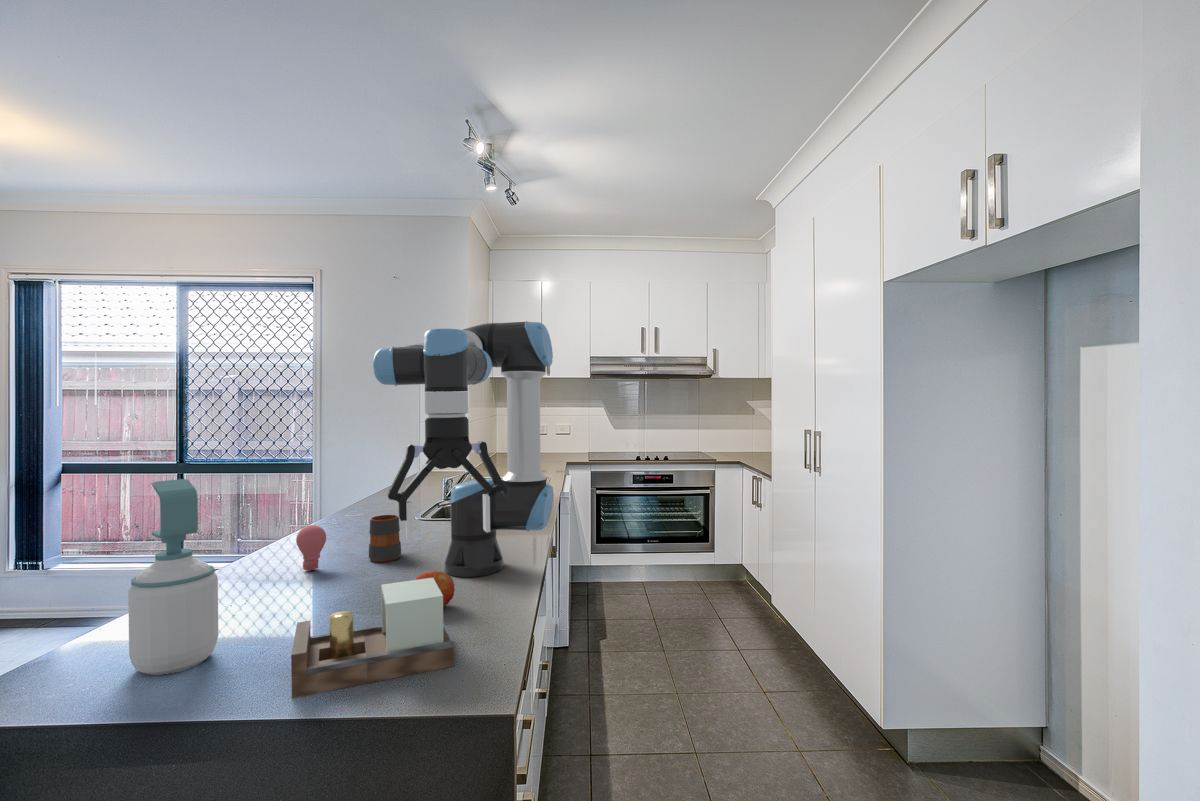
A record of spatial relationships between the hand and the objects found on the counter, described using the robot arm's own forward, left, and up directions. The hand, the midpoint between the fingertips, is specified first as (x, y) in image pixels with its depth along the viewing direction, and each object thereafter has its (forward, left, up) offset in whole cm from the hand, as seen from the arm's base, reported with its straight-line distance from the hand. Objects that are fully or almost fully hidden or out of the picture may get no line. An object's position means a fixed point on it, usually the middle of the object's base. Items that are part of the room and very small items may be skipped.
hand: (448, 534), depth 103 cm
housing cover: (+7, 0, -17) cm, 18 cm away
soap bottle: (+44, -15, -21) cm, 50 cm away
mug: (+6, -70, -21) cm, 73 cm away
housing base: (+13, 0, -20) cm, 24 cm away
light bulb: (+25, -65, -21) cm, 72 cm away
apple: (0, -22, -21) cm, 30 cm away
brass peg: (+18, 0, -19) cm, 26 cm away
